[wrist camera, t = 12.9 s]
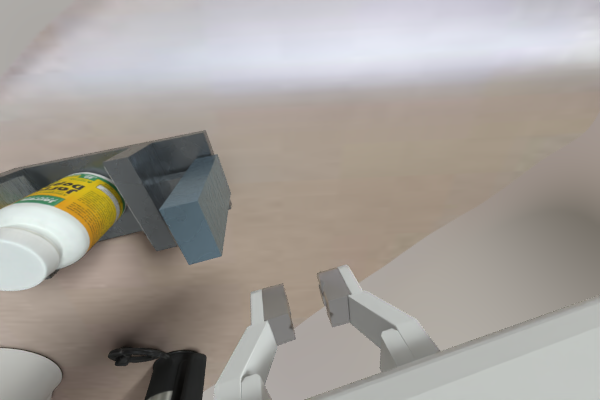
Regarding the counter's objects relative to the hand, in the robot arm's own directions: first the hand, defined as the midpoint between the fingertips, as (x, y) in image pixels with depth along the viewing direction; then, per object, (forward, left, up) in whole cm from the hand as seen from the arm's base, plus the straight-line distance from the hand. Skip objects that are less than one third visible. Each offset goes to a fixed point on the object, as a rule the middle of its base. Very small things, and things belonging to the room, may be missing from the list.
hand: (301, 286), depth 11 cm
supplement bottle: (-20, 0, -20) cm, 28 cm away
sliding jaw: (-10, 0, -20) cm, 22 cm away
